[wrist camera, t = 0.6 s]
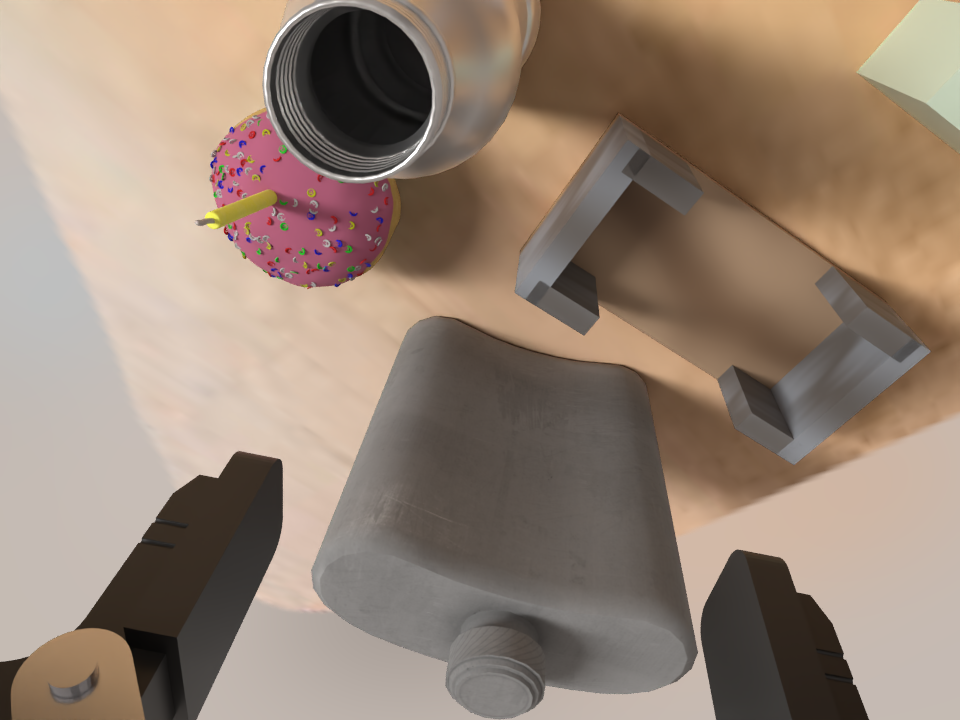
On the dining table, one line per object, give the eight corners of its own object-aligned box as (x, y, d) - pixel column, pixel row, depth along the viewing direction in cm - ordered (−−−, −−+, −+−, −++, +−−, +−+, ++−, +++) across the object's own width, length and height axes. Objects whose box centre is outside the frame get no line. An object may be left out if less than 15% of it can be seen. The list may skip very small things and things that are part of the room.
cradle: (618, 112, 32) (627, 139, 28) (885, 301, 36) (931, 351, 31) (520, 250, 36) (514, 292, 32) (768, 407, 40) (794, 465, 35)
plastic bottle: (565, 45, 31) (570, 170, 14) (436, 112, 33) (305, 291, 16) (504, -107, 28) (417, -183, 11) (367, -24, 30) (121, 19, 13)
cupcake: (221, 164, 36) (85, 252, 25) (323, 43, 32) (213, 90, 22) (343, 278, 38) (265, 400, 28) (450, 179, 35) (405, 277, 25)
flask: (392, 385, 42) (277, 687, 25) (411, 304, 39) (294, 585, 22) (624, 449, 43) (666, 784, 26) (661, 374, 40) (736, 699, 23)
